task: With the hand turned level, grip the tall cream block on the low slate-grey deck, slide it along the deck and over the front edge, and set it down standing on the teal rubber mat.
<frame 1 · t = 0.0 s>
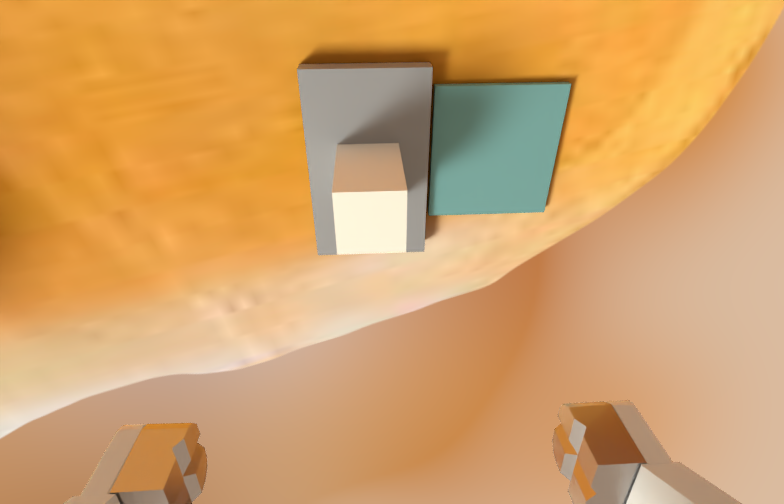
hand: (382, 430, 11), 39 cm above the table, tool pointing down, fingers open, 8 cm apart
deck: (368, 163, 49), on the table
cream block: (368, 172, 47), point 2 cm above the table, touching deck
mat: (492, 151, 49), on the table
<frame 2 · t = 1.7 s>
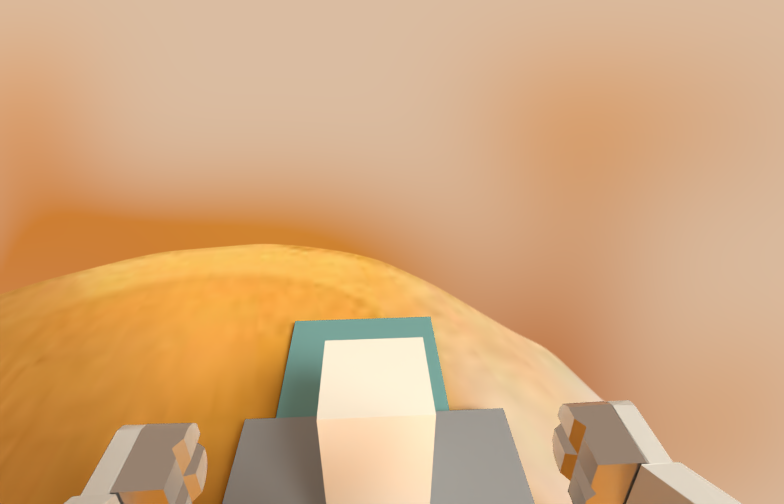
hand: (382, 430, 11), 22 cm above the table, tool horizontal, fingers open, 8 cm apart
deck: (378, 503, 32), on the table
cream block: (377, 485, 31), point 2 cm above the table, touching deck
mat: (363, 369, 43), on the table
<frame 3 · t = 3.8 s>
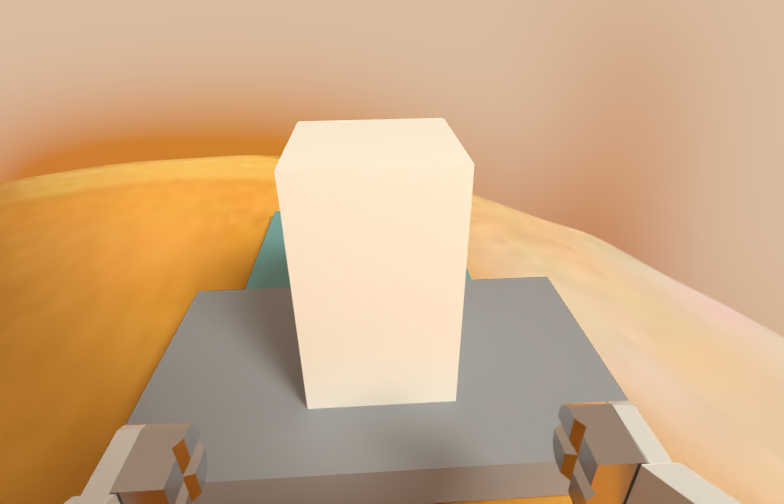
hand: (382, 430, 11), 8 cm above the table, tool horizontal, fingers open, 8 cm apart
deck: (380, 386, 22), on the table
cream block: (379, 354, 21), point 2 cm above the table, touching deck
mat: (359, 254, 34), on the table
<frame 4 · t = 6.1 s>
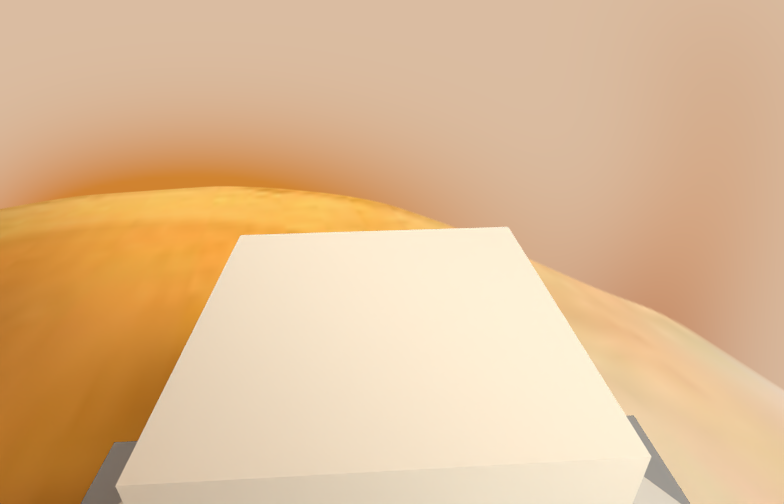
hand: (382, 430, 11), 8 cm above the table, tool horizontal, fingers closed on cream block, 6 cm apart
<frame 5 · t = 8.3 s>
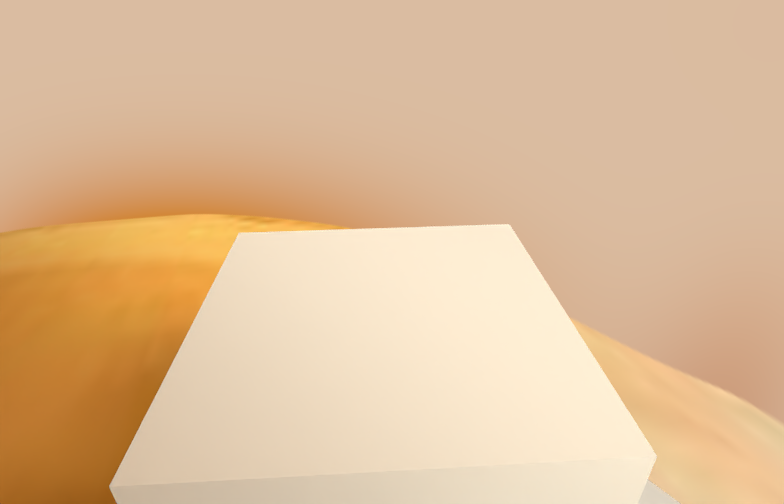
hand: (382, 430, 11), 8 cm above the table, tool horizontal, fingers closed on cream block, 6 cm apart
when the fingers open (8 cm above the table, at t = 10.9 s): cream block drops 1 cm, resting on mat.
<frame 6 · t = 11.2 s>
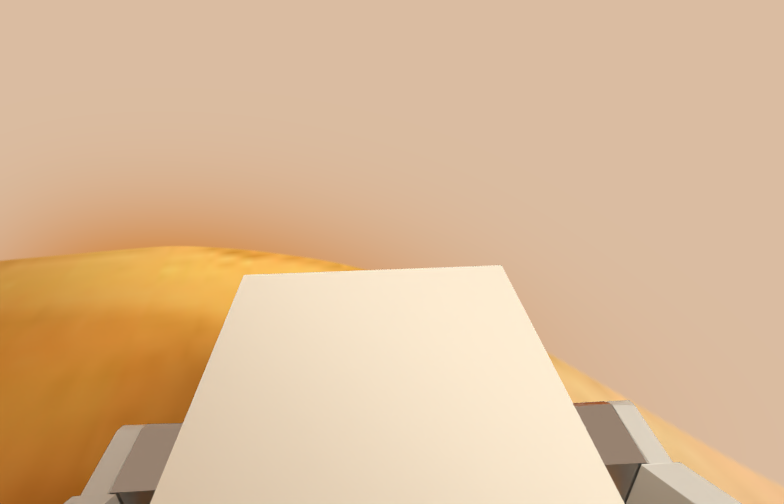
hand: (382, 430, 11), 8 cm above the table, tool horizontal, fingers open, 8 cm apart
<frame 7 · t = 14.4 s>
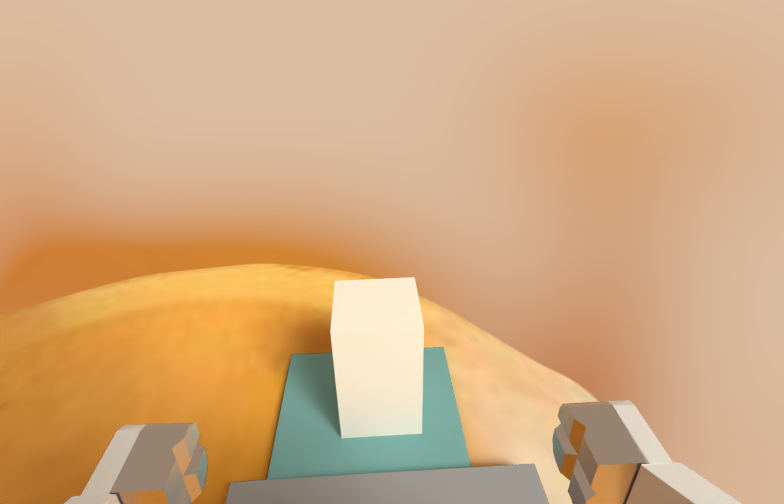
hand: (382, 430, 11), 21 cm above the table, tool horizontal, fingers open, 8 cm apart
cream block: (380, 404, 37), point 1 cm above the table, touching mat
mat: (369, 411, 38), on the table
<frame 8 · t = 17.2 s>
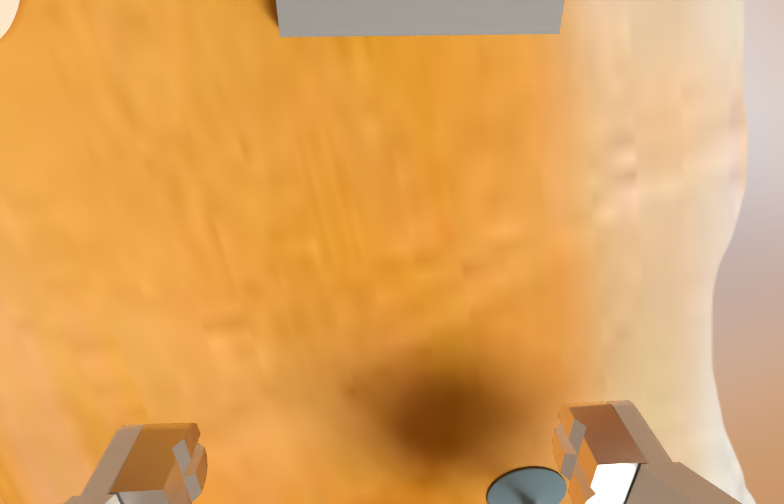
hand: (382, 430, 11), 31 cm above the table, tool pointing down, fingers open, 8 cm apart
cocktail glass: (525, 491, 64), on the table
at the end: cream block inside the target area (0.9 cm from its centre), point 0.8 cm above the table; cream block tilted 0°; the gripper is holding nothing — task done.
